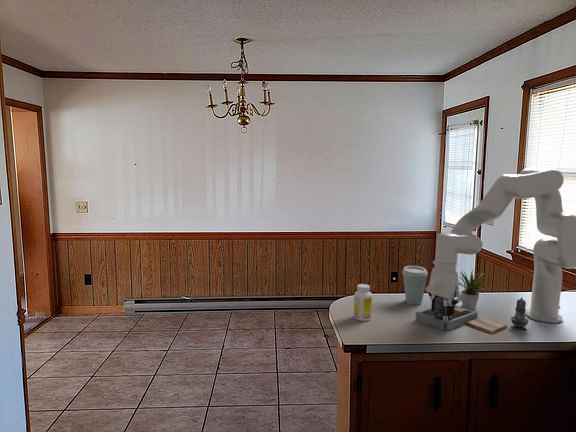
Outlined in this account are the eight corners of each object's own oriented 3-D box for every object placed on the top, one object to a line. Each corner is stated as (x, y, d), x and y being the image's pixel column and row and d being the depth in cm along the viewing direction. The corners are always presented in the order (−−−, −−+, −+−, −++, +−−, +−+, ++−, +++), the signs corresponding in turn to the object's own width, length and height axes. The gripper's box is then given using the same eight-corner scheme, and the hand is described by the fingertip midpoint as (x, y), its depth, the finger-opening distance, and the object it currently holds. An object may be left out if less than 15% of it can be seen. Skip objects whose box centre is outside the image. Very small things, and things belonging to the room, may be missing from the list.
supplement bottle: (373, 317, 165) (374, 284, 163) (368, 322, 159) (370, 289, 157) (356, 314, 168) (357, 282, 166) (351, 319, 162) (352, 286, 160)
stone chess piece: (527, 333, 152) (530, 300, 151) (509, 329, 155) (511, 297, 154) (528, 327, 157) (531, 296, 156) (510, 324, 160) (513, 293, 159)
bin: (446, 309, 175) (446, 302, 174) (476, 319, 164) (477, 312, 164) (415, 319, 163) (416, 312, 162) (445, 331, 152) (446, 323, 152)
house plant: (447, 309, 175) (450, 271, 172) (447, 299, 187) (450, 263, 185) (485, 315, 170) (489, 275, 167) (483, 304, 182) (486, 267, 180)
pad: (480, 319, 165) (480, 316, 165) (506, 327, 157) (506, 325, 157) (466, 324, 159) (466, 322, 159) (492, 333, 151) (492, 331, 151)
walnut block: (456, 316, 168) (457, 306, 167) (466, 319, 164) (466, 309, 164) (450, 318, 165) (451, 308, 165) (460, 321, 162) (461, 311, 162)
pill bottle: (451, 325, 158) (453, 295, 157) (434, 323, 159) (436, 294, 158) (448, 319, 164) (450, 290, 162) (432, 317, 165) (434, 289, 164)
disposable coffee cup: (429, 306, 178) (431, 271, 176) (403, 306, 178) (405, 271, 176) (421, 298, 188) (424, 265, 186) (397, 298, 188) (399, 264, 186)
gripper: (419, 262, 163) (416, 308, 166) (461, 272, 150) (457, 322, 152) (431, 260, 168) (428, 304, 170) (472, 270, 154) (468, 317, 157)
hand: (442, 312), depth 161 cm, fingers closed on pill bottle, 6 cm apart
